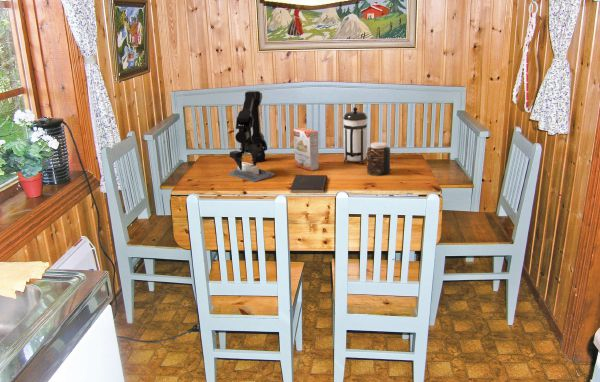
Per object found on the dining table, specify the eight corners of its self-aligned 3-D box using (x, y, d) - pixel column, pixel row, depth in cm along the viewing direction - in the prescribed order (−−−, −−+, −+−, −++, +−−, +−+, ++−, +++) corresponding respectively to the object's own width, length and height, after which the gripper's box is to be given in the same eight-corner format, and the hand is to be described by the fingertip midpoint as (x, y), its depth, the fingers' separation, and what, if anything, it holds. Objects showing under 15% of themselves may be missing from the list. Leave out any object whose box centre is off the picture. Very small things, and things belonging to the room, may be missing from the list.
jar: (389, 176, 280) (389, 146, 276) (366, 175, 282) (366, 146, 278) (390, 169, 291) (391, 141, 286) (368, 169, 293) (368, 141, 289)
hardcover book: (290, 193, 260) (289, 189, 260) (295, 179, 282) (295, 175, 281) (324, 193, 259) (324, 189, 258) (327, 179, 280) (327, 174, 280)
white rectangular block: (238, 170, 294) (237, 163, 293) (244, 169, 297) (243, 161, 295) (252, 175, 286) (252, 166, 285) (258, 173, 288) (258, 165, 287)
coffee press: (335, 160, 312) (334, 107, 302) (360, 156, 318) (360, 104, 309) (350, 167, 297) (350, 111, 287) (376, 163, 303) (377, 108, 294)
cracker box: (294, 166, 303) (292, 128, 297) (303, 164, 307) (302, 126, 300) (310, 171, 293) (309, 132, 286) (319, 169, 296) (318, 130, 290)
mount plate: (228, 174, 293) (227, 169, 292) (249, 168, 302) (248, 164, 301) (254, 182, 278) (253, 176, 277) (275, 175, 287) (274, 170, 286)
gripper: (241, 144, 274) (243, 174, 279) (270, 137, 286) (271, 166, 291) (227, 141, 282) (230, 170, 287) (256, 134, 294) (257, 163, 299)
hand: (248, 167), depth 291 cm, fingers open, 9 cm apart
